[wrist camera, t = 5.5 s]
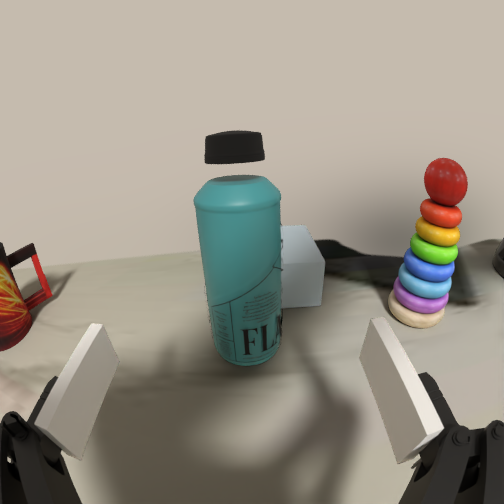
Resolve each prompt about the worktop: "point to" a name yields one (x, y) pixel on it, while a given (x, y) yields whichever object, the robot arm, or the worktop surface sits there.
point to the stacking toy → (431, 249)
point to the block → (300, 268)
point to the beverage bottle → (241, 252)
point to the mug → (17, 297)
